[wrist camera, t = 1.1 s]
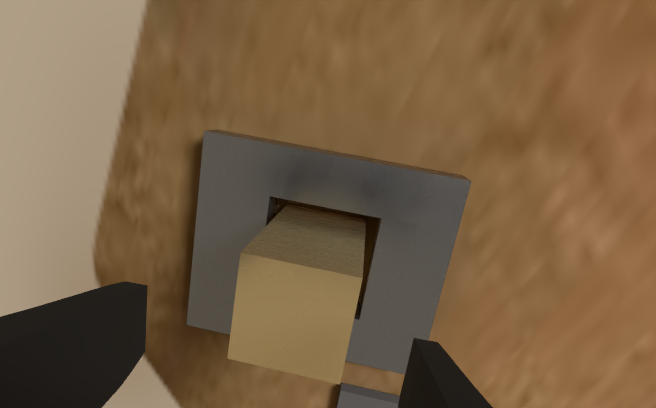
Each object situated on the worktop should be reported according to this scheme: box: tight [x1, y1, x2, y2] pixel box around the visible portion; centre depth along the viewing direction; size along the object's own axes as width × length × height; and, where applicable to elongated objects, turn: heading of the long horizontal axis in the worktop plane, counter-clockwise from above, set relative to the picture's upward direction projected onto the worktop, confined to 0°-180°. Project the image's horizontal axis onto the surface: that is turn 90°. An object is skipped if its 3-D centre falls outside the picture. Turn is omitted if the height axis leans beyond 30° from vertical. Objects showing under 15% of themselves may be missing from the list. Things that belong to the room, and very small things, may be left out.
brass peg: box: [228, 204, 366, 384], centre depth 16 cm, size 4×4×7 cm
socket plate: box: [187, 130, 471, 374], centre depth 18 cm, size 10×12×2 cm
